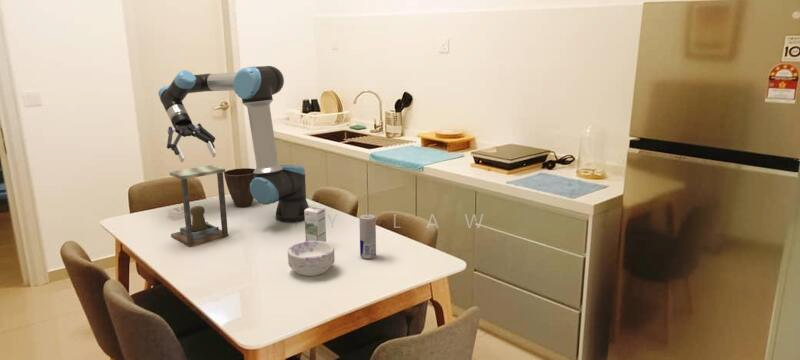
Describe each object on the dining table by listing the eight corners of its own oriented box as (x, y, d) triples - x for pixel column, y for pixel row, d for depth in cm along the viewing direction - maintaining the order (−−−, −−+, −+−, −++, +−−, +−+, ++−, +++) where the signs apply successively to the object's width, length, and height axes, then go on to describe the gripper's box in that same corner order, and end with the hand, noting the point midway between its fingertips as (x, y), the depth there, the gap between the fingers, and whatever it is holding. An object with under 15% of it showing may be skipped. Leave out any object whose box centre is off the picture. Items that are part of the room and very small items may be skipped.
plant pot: (220, 208, 251) (217, 174, 247) (235, 199, 266) (232, 167, 262) (251, 210, 249) (249, 176, 245) (264, 201, 263) (262, 168, 259)
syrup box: (327, 244, 207) (325, 207, 204) (318, 249, 202) (316, 211, 198) (314, 241, 210) (312, 205, 206) (305, 247, 204) (303, 209, 201)
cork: (204, 236, 212) (202, 209, 210) (189, 236, 213) (186, 209, 210) (210, 231, 218) (207, 204, 216) (195, 231, 218) (192, 204, 216)
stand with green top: (210, 226, 227) (205, 162, 220) (230, 236, 216) (225, 168, 209) (169, 237, 215) (162, 169, 209) (188, 247, 204) (181, 176, 197)
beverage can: (378, 254, 197) (377, 214, 193) (372, 260, 192) (371, 219, 188) (363, 252, 199) (363, 213, 195) (357, 258, 193) (356, 217, 190)
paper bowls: (314, 284, 173) (313, 260, 171) (279, 273, 181) (277, 251, 179) (344, 267, 186) (343, 245, 184) (309, 258, 194) (308, 237, 192)
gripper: (205, 120, 244) (224, 158, 238) (147, 126, 227) (166, 167, 221) (209, 109, 239) (229, 148, 233) (151, 114, 222) (170, 156, 216)
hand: (199, 157), depth 227 cm, fingers open, 13 cm apart
